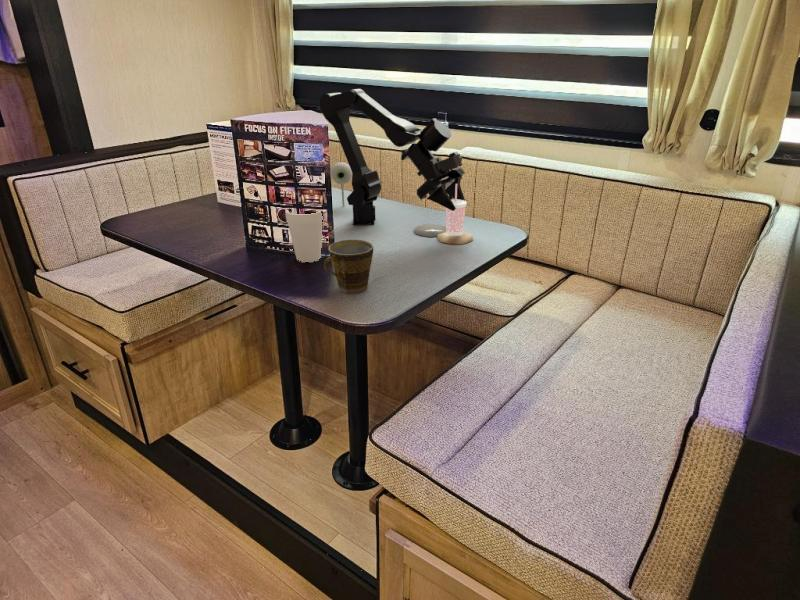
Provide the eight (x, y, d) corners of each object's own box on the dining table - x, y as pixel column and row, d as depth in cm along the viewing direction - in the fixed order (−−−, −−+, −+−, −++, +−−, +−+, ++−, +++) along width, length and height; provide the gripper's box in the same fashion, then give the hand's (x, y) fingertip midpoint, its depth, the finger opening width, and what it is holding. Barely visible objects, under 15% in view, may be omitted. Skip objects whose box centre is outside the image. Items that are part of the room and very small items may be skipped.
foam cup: (332, 253, 144) (329, 205, 139) (318, 266, 136) (314, 216, 131) (299, 250, 147) (295, 203, 141) (284, 262, 139) (278, 213, 133)
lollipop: (332, 210, 181) (329, 164, 175) (333, 204, 188) (330, 160, 181) (354, 209, 182) (351, 164, 175) (353, 203, 188) (351, 159, 182)
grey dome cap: (415, 237, 155) (415, 235, 155) (413, 226, 164) (413, 224, 164) (450, 236, 156) (450, 234, 155) (445, 225, 165) (445, 223, 164)
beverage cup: (439, 231, 155) (441, 182, 149) (458, 228, 157) (460, 180, 151) (450, 237, 150) (451, 187, 144) (469, 234, 152) (471, 185, 146)
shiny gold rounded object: (439, 244, 149) (439, 242, 149) (435, 233, 158) (435, 231, 158) (475, 243, 150) (475, 241, 149) (469, 232, 159) (469, 230, 158)
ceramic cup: (353, 276, 130) (351, 236, 126) (384, 286, 124) (382, 245, 120) (312, 293, 122) (308, 251, 117) (342, 306, 116) (339, 262, 111)
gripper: (427, 148, 137) (464, 197, 137) (460, 138, 152) (494, 182, 151) (401, 176, 145) (436, 222, 144) (434, 163, 159) (466, 205, 158)
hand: (459, 207), depth 149 cm, fingers closed on beverage cup, 6 cm apart
